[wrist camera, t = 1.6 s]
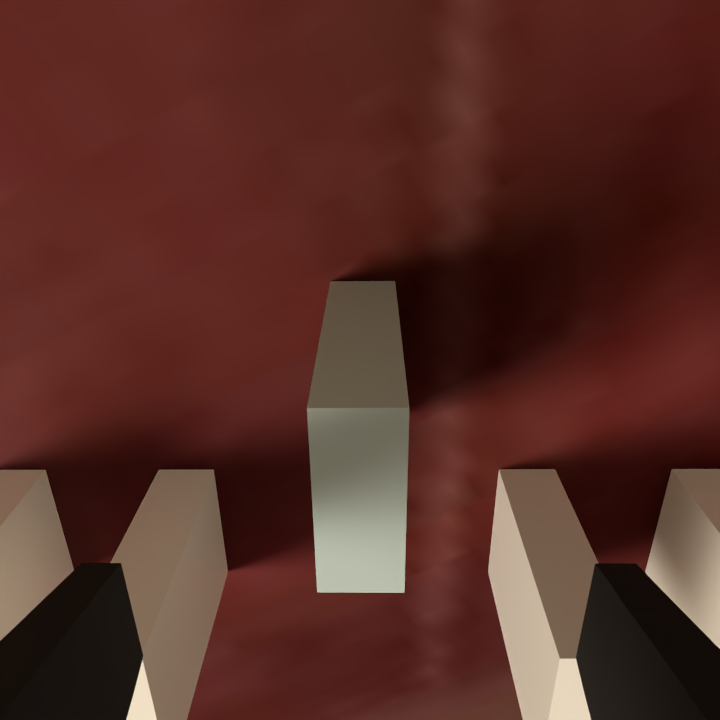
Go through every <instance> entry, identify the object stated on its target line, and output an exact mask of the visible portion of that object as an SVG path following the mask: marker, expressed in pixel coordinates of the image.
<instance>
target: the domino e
mask: <svg viewBox="0 0 720 720" xmlns="http://www.w3.org/2000/svg"><path fill="white" fill-rule="evenodd" d="M645 572H646V574H647V575H648V576H649V577H650V578H651V579H652V580H653V581H654V583H655V584H656V585H657V586H658V587H659V588H660V589H661V590H662V591H663V592H664V593H665V594H666V595H667V596H668V597H669V598H670V599H671V600H672V601H673V602H674V603H675V604H676V605H677V606H678V607H679V608H680V609H681V610H682V611H683V612H684V613H685V614H686V615H687V616H688V617H689V618H690V619H691V620H692V621H693V622H694V623H695V624H696V625H697V626H698V627H699V628H700V629H701V630H702V631H703V633H704V634H705V635H706V636H707V637H708V638H709V639H710V640H711V641H712V642H713V643H714V644H715V645H716V646H717V647H718V648H719V649H720V469H671V473H670V477H669V481H668V485H667V489H666V493H665V497H664V500H663V504H662V508H661V512H660V516H659V520H658V524H657V528H656V532H655V536H654V540H653V544H652V548H651V551H650V555H649V559H648V563H647V567H646V571H645Z"/></svg>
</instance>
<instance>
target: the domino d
mask: <svg viewBox="0 0 720 720" xmlns="http://www.w3.org/2000/svg"><path fill="white" fill-rule="evenodd" d="M595 564H599V563H598V561H597V559H596V557H595V555H594V553H593V550H592V548H591V546H590V544H589V542H588V540H587V537H586V535H585V533H584V531H583V529H582V526H581V524H580V522H579V520H578V518H577V516H576V513H575V511H574V509H573V507H572V505H571V503H570V500H569V498H568V496H567V494H566V492H565V490H564V487H563V485H562V483H561V481H560V479H559V477H558V474H557V472H556V470H555V469H499V473H498V483H497V492H496V502H495V511H494V521H493V530H492V540H491V549H490V558H489V568H488V573H489V578H490V582H491V586H492V590H493V595H494V599H495V603H496V607H497V612H498V616H499V620H500V624H501V629H502V633H503V637H504V641H505V646H506V650H507V654H508V658H509V663H510V667H511V671H512V675H513V680H514V684H515V688H516V692H517V697H518V701H519V705H520V709H521V714H522V718H523V720H591V717H590V713H589V709H588V706H587V702H586V698H585V694H584V690H583V686H582V681H581V677H580V673H579V669H578V665H577V661H576V654H577V649H578V644H579V639H580V634H581V630H582V625H583V620H584V615H585V610H586V605H587V600H588V595H589V591H590V586H591V581H592V576H593V571H594V566H595Z"/></svg>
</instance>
